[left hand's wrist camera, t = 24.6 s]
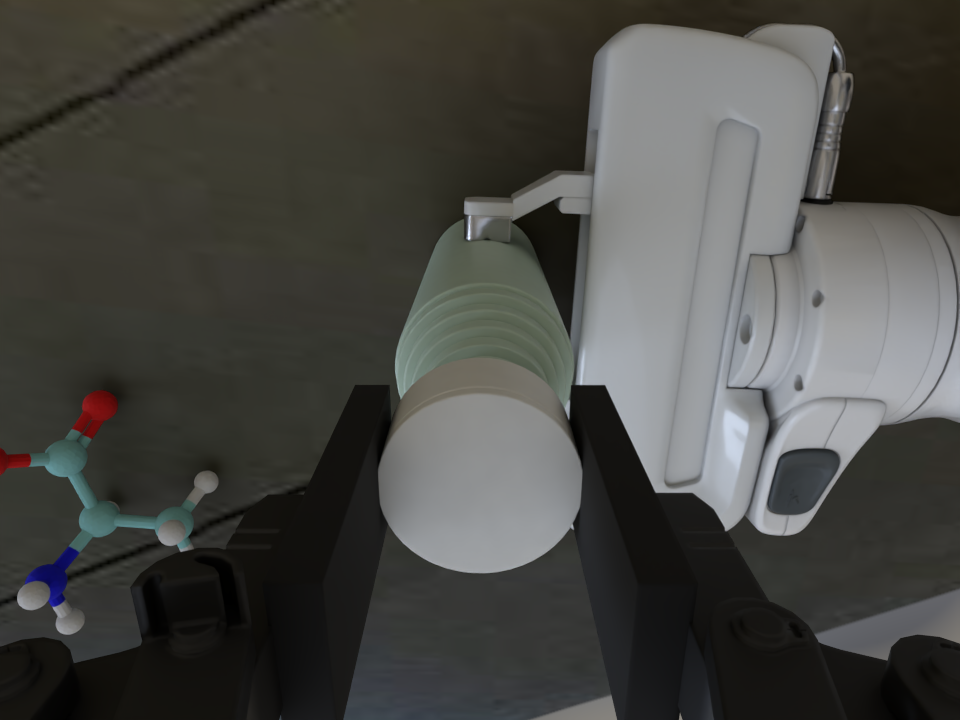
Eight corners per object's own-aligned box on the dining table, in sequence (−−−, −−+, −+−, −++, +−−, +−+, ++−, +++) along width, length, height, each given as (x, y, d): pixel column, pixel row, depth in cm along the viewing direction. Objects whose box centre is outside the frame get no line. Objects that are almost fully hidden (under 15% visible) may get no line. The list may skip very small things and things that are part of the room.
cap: (453, 545, 16) (449, 603, 14) (353, 415, 14) (334, 459, 13) (603, 466, 15) (621, 516, 13) (510, 321, 14) (515, 353, 12)
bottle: (427, 314, 33) (357, 554, 15) (435, 209, 31) (367, 334, 13) (530, 324, 33) (587, 574, 15) (543, 220, 31) (628, 360, 13)
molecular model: (261, 456, 31) (76, 633, 25) (250, 533, 38) (104, 687, 32) (81, 321, 32) (-143, 457, 26) (103, 420, 39) (-69, 547, 33)
